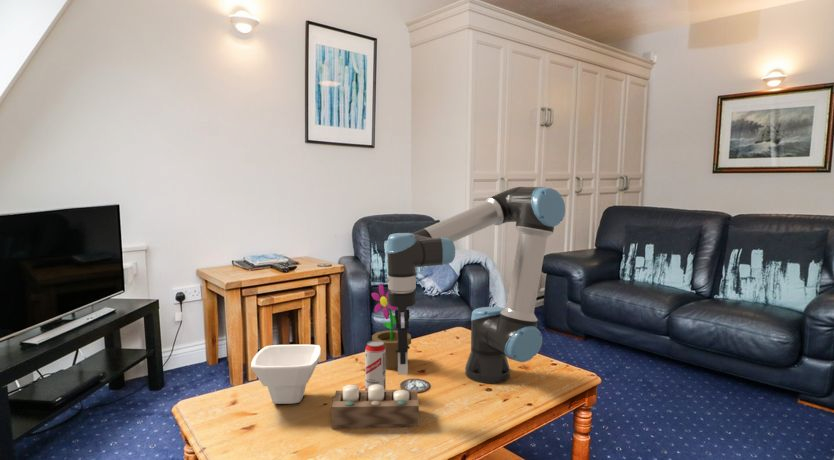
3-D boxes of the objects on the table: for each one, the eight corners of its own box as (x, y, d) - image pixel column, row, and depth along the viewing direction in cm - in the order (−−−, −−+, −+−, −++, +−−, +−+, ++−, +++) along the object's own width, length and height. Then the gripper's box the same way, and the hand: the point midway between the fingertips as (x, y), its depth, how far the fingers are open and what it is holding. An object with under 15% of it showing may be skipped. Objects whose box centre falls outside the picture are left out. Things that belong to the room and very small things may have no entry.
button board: (416, 409, 138) (416, 388, 137) (418, 427, 128) (418, 404, 127) (336, 410, 137) (336, 389, 136) (331, 428, 127) (331, 406, 126)
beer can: (382, 398, 145) (382, 347, 143) (362, 396, 146) (362, 345, 144) (387, 389, 151) (387, 340, 149) (368, 388, 152) (368, 339, 150)
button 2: (408, 406, 136) (409, 389, 135) (409, 414, 131) (409, 396, 131) (393, 406, 136) (393, 389, 135) (393, 414, 131) (393, 396, 131)
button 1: (359, 401, 135) (359, 384, 134) (358, 408, 131) (358, 391, 130) (343, 401, 135) (343, 384, 134) (342, 409, 130) (341, 391, 130)
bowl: (316, 414, 135) (316, 366, 133) (246, 416, 133) (245, 367, 132) (325, 386, 153) (324, 343, 152) (263, 387, 152) (262, 344, 150)
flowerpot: (363, 364, 171) (362, 282, 168) (390, 354, 182) (390, 276, 179) (392, 375, 162) (392, 288, 159) (419, 363, 173) (420, 281, 170)
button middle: (384, 401, 135) (384, 384, 135) (383, 408, 131) (384, 390, 130) (368, 401, 135) (368, 384, 135) (367, 408, 131) (367, 391, 130)
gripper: (388, 285, 136) (389, 364, 139) (387, 296, 123) (389, 384, 126) (414, 284, 137) (415, 364, 139) (416, 295, 124) (417, 383, 126)
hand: (402, 373), depth 133 cm, fingers closed
